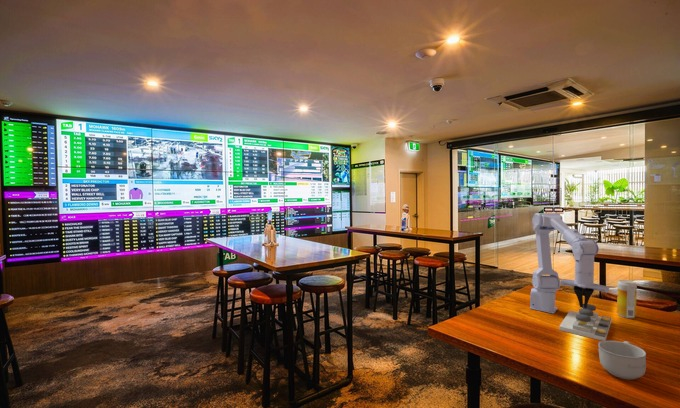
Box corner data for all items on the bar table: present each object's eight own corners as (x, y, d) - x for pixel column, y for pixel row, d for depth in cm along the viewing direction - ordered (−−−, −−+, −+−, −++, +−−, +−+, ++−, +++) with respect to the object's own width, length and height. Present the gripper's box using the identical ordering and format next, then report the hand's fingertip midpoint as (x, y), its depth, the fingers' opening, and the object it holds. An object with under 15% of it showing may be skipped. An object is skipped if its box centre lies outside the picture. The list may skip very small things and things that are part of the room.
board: (559, 330, 127) (559, 322, 127) (569, 313, 143) (569, 307, 143) (605, 341, 117) (605, 333, 117) (611, 322, 133) (611, 315, 133)
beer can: (628, 313, 143) (629, 279, 142) (639, 319, 136) (640, 283, 136) (613, 313, 143) (614, 279, 142) (623, 318, 137) (625, 283, 136)
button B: (577, 317, 130) (578, 311, 130) (579, 314, 133) (579, 307, 133) (592, 320, 127) (592, 314, 127) (594, 317, 130) (594, 310, 130)
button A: (574, 323, 125) (574, 316, 124) (576, 319, 128) (576, 313, 128) (589, 326, 121) (589, 319, 121) (591, 323, 125) (591, 316, 125)
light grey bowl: (635, 388, 90) (635, 360, 90) (590, 369, 100) (590, 344, 99) (657, 374, 97) (657, 348, 96) (612, 358, 106) (613, 334, 106)
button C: (581, 312, 135) (581, 305, 135) (582, 309, 139) (582, 303, 139) (594, 315, 132) (595, 308, 132) (596, 312, 135) (596, 305, 135)
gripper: (559, 270, 126) (558, 305, 126) (607, 277, 116) (606, 315, 116) (563, 267, 131) (562, 300, 132) (609, 273, 121) (608, 309, 121)
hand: (583, 307), depth 124 cm, fingers closed
